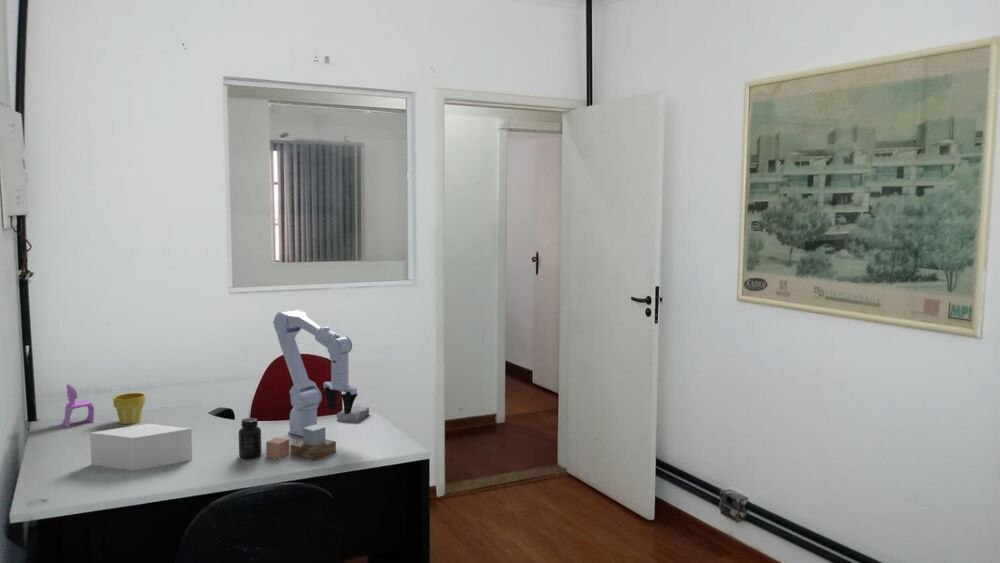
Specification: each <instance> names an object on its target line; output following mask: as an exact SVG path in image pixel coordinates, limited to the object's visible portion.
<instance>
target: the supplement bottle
mask: <svg viewBox="0 0 1000 563" xmlns="http://www.w3.org/2000/svg"><path fill="white" fill-rule="evenodd" d="M238 430H239V431H238V456H239V459H241V460H245V459H246V460H248V459H249V460H255V459H258V458H260V457H261V456H262V451H263V450H262V429H261V428H260V427H259V426H258V418H257V417H256V418H255V417H249V418H247V417H246V418H244V419H243V418H242V420H241V428H240V429H238ZM249 460H248V461H249Z"/></svg>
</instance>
